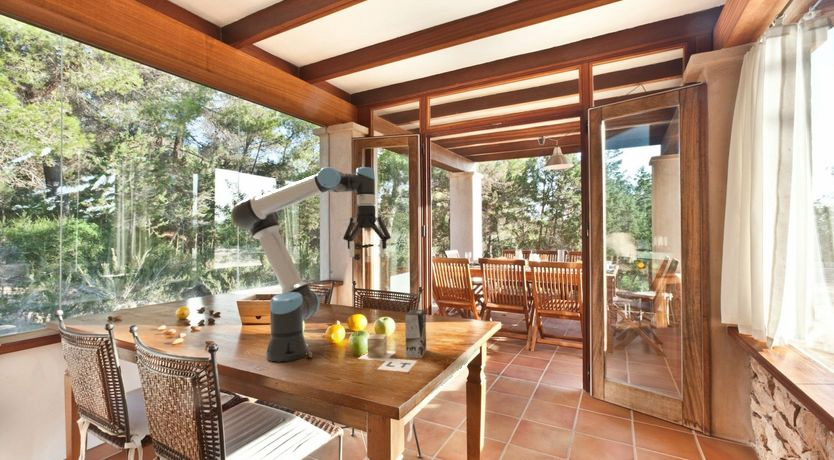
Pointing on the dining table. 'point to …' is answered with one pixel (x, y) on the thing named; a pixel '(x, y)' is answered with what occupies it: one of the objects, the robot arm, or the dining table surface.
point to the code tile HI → (387, 356)
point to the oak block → (377, 345)
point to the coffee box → (415, 333)
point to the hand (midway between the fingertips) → (367, 257)
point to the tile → (397, 365)
